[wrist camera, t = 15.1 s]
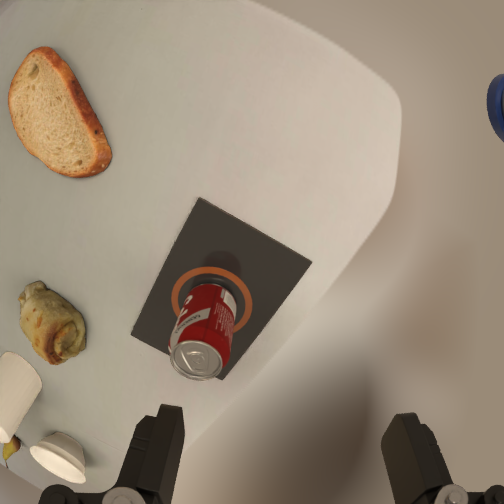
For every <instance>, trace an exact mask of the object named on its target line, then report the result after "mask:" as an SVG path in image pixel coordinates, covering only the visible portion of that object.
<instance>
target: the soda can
mask: <svg viewBox="0 0 504 504" xmlns="http://www.w3.org/2000/svg"><path fill="white" fill-rule="evenodd" d="M235 315H236V302H235V299H234V297H233V296H232V294H231V293H230V292H229V291H228V290H227V289H225V288H224V287H222V286H220V285H217V284H211V283H206V284H201V285H198V286H196V287H194V288H193V289H192V290H191V291H190V292H189V293H188V295H187V298H186V300H185V302H184V305H183V307H182V310H181V312H180V315H179V317H178V320H177V322H176V325H175V327H174V330H173V332H172V335H171V337H170V340H169V345H168V348H169V353H170V360H171V364H172V366H173V367H174V369H175V370H176V371H177V372H178V373H180V374H181V375H182V376H184V377H186V378H189V379H192V380H198V381H204V380H209V379H212V378H214V377H216V376H217V375H218V374H219V373H220V371H221V369H222V368H223V367H224V366H225V365H226V364H227V362H228V360H229V358H230V351H231V344H232V337H233V329H234V322H235Z"/></svg>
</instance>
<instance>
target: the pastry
mask: <svg viewBox="0 0 504 504" xmlns="http://www.w3.org/2000/svg"><path fill="white" fill-rule="evenodd" d="M18 300H19V301H20V307H21V312H20V314H21V318H20V326H21V329H22V330H23V332H24V333H25V335H26V337H27V338H28V339H29V341H30V342H31V343H32V346H33V349H34V350H35V352H36V353H37V354H38V355H39V356H41V357H42V358H43V359H44V360H45V361H48V362H49V363H50V364H52V365H58V364H60V363H64V362H65V361H66V360H68V358H71V357H75V356H77V355H78V354H79V352H80V351H82V350H84V349H85V343H86V338H85V335H86V333H85V326H84V321H83V317H82V316H81V313H79V312H78V311H77V310H76V309H75V308H74V307H73V306H72V305H71V304H70V303H69V302H68V301H66V300H65V299H64V298H63V297H61V296H59V295H58V294H57V293H55V292H53V291H51V290H49V289H46V286H45V284H43V283H42V282H41V281H37V282H34V283H31V284H29V285H27V286H26V287H25V290H24V292H22V293H21V294H20V297H19V298H18Z"/></svg>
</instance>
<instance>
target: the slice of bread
mask: <svg viewBox="0 0 504 504" xmlns="http://www.w3.org/2000/svg"><path fill="white" fill-rule="evenodd" d="M8 106H9V110H10V114H11V118H12V122H13V125H14V128H15V130H16V132H17V135H18V137H19V139H20V140H21V141H22V143H23V145H24V146H25V148H26V149H27V150H28V152H29V153H30V154H32V155H34V156H37V157H38V158H39V159H41V160H42V161H43V162H44V163H45V165H46V166H47V167H48V168H50V169H51V170H53V171H55V172H57V173H59V174H62V175H65V176H69V177H73V178H83V177H89V176H94V175H96V174H98V173H100V172H103V171H104V170H105V168H106V167H107V166H108V164H109V162H110V160H111V158H112V154H111V149H110V146H109V145H108V143H107V139H106V136H105V134H104V132H103V128H102V126H101V124H100V123H99V121H98V119H97V116H96V114H95V113H94V112H93V110H92V108H91V106H90V104H89V102H88V101H87V98H86V96H85V94H84V92H83V90H82V88H81V86H80V85H79V83H78V81H77V79H76V77H75V76H74V74H73V73H72V71H71V69H70V67H69V66H68V64H67V63H66V62H65V61H64V60H62V59H61V58H60V57H59V55H58V54H57V53H56V52H55V51H54V50H53V49H51V48H50V47H39V48H36V49H34V50H33V51H31V52H30V53H29V54H28V55H27V57H26V58H25V59H24V61H23V63H22V64H21V66H20V67H19V69H18V70H17V72H16V74H15V76H14V78H13V80H12V82H11V86H10V90H9V94H8Z"/></svg>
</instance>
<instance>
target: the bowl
mask: <svg viewBox="0 0 504 504" xmlns="http://www.w3.org/2000/svg"><path fill="white" fill-rule="evenodd" d="M30 452H31V454H32V456H33V457H34V458H35V459H36V460H37V462H39V463H40V464H41V465H42V466H43V467H44V468H46V469H47V470H49V471H50V472H52V473H53V474H55V475H57V476H59V477H61V478H63V479H65V480H68V481H70V482H74V483H84V482H85V481H86V478H85V476H84V472H85V459H84V456H83V448H82V446H81V445H80V444H79V443H78V442H77V441H76V440H74V439H73V438H71V437H70V436H68V435H66V434H63V433H60V432H56V433H54V435H50V436H47V437H45V438H43V439H42V440H41V441H40V442H38V444H37V445H36V446H32V447H31V448H30Z"/></svg>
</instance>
